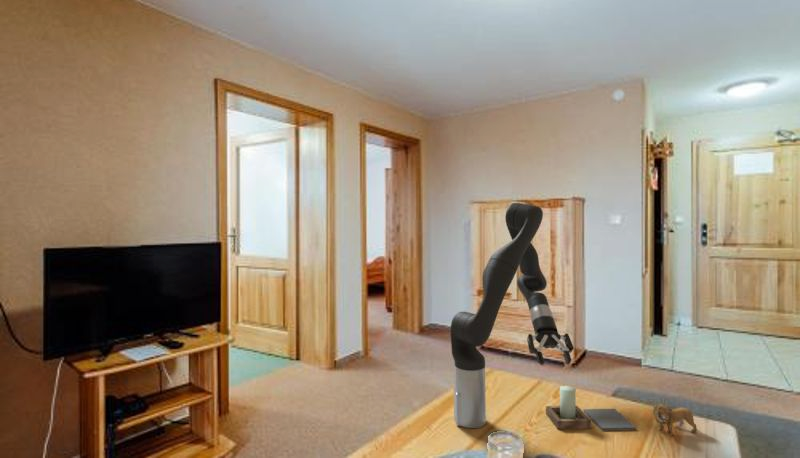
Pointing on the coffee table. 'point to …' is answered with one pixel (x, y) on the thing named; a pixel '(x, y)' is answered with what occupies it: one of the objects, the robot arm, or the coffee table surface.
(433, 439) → the coffee table surface
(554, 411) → the walnut pocket frame
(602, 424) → the charcoal mat
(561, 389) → the sage wooden peg
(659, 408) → the lion figurine
